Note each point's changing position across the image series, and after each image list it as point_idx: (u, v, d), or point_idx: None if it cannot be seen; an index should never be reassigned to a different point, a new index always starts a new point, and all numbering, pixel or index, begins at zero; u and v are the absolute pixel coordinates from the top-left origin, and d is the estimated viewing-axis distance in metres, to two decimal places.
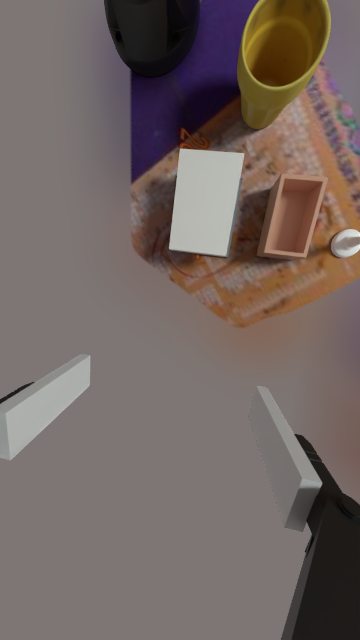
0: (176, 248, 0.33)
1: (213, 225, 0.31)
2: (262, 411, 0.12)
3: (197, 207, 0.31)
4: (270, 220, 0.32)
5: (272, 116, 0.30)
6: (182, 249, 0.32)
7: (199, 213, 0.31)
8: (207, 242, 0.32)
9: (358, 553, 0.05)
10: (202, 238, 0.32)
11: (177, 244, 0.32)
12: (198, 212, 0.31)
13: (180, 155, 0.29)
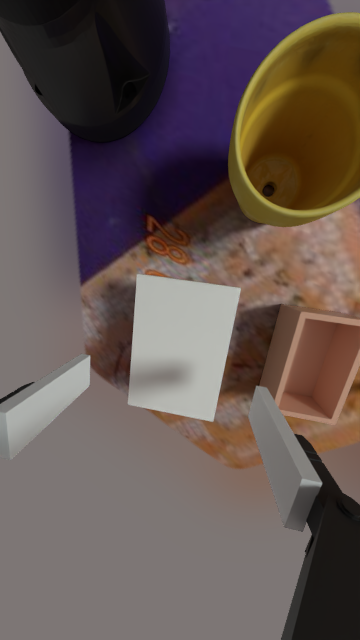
0: (138, 405, 0.22)
1: (193, 382, 0.20)
2: (262, 411, 0.12)
3: (168, 355, 0.20)
4: (281, 369, 0.21)
5: None
6: (147, 407, 0.22)
7: (171, 364, 0.20)
8: (184, 402, 0.21)
9: (358, 553, 0.05)
10: (176, 396, 0.21)
11: (140, 400, 0.21)
12: (170, 363, 0.20)
13: (138, 283, 0.18)
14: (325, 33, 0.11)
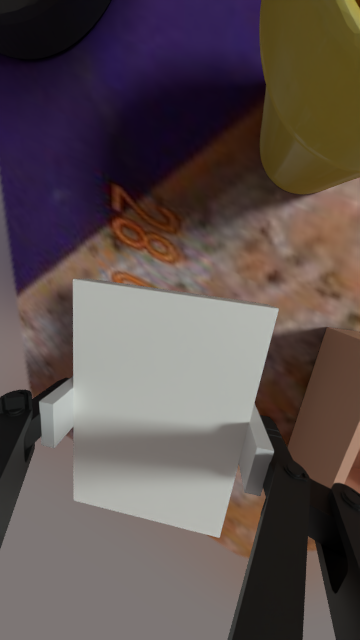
0: (91, 502, 0.13)
1: (184, 473, 0.11)
2: None
3: (138, 427, 0.11)
4: (339, 445, 0.12)
5: None
6: (106, 506, 0.13)
7: (144, 441, 0.11)
8: (169, 504, 0.12)
9: (298, 505, 0.06)
10: (155, 494, 0.12)
11: (93, 495, 0.12)
12: (141, 440, 0.11)
13: (76, 297, 0.10)
14: None
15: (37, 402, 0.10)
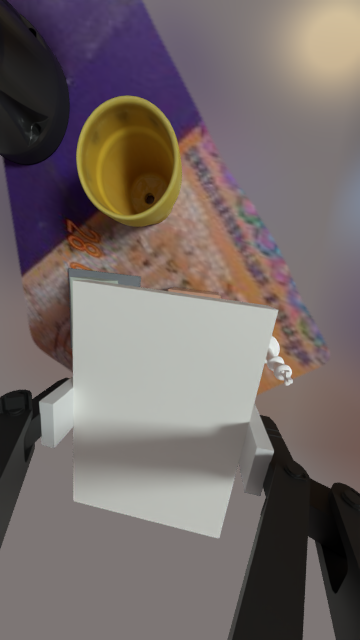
0: (91, 503, 0.13)
1: (183, 474, 0.11)
2: None
3: (138, 428, 0.11)
4: None
5: None
6: (106, 507, 0.13)
7: (143, 442, 0.11)
8: (169, 504, 0.12)
9: (298, 505, 0.06)
10: (155, 495, 0.12)
11: (93, 496, 0.12)
12: (141, 441, 0.11)
13: (76, 298, 0.10)
14: (120, 106, 0.17)
15: (37, 402, 0.10)
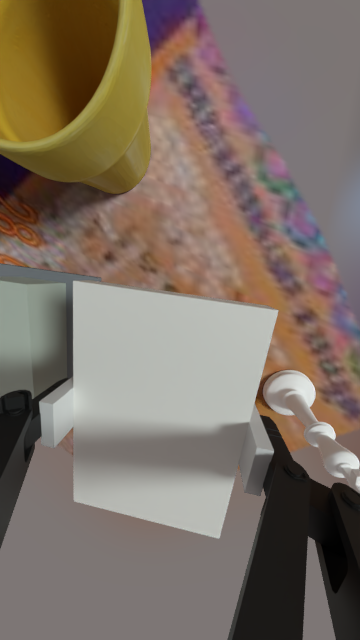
0: (91, 503, 0.13)
1: (183, 474, 0.11)
2: None
3: (138, 428, 0.11)
4: None
5: (113, 182, 0.14)
6: (106, 507, 0.13)
7: (143, 443, 0.11)
8: (169, 505, 0.12)
9: (298, 505, 0.06)
10: (155, 495, 0.12)
11: (93, 496, 0.12)
12: (141, 441, 0.11)
13: (76, 299, 0.10)
14: None
15: (37, 402, 0.10)
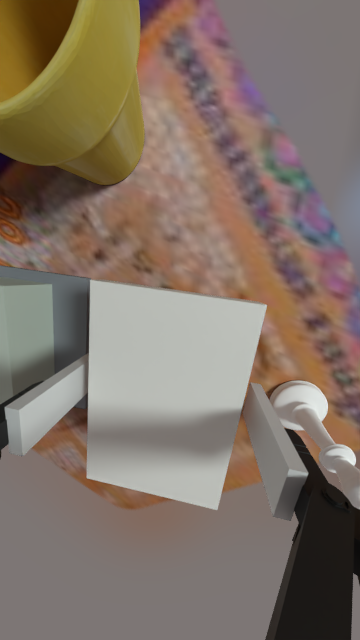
0: (103, 479, 0.14)
1: (185, 451, 0.13)
2: (255, 407, 0.12)
3: (145, 410, 0.12)
4: None
5: (100, 169, 0.12)
6: (116, 483, 0.14)
7: (150, 423, 0.12)
8: (172, 479, 0.13)
9: (340, 538, 0.06)
10: (160, 471, 0.13)
11: (104, 473, 0.14)
12: (148, 421, 0.12)
13: (93, 295, 0.11)
14: None
15: (5, 407, 0.10)
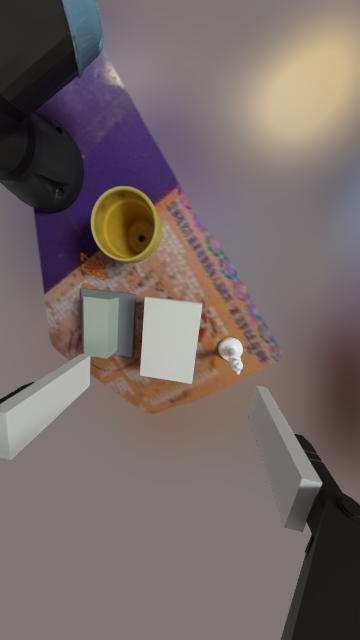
0: (146, 375, 0.35)
1: (178, 359, 0.34)
2: (262, 411, 0.12)
3: (163, 343, 0.34)
4: None
5: None
6: (152, 376, 0.35)
7: (165, 348, 0.34)
8: (174, 372, 0.35)
9: (358, 553, 0.05)
10: (169, 368, 0.35)
11: (147, 372, 0.35)
12: (164, 348, 0.34)
13: (145, 302, 0.33)
14: (119, 191, 0.27)
15: None
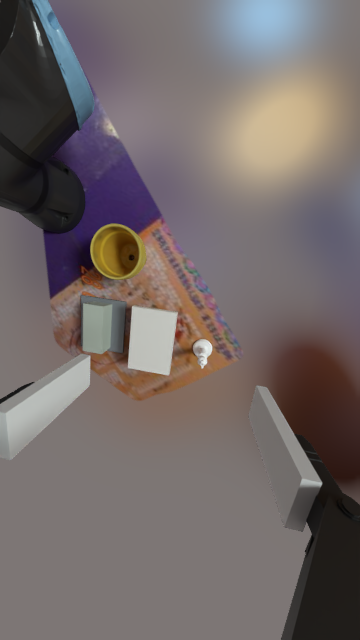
0: (133, 367, 0.44)
1: (158, 355, 0.43)
2: (262, 411, 0.12)
3: (146, 342, 0.42)
4: None
5: None
6: (137, 368, 0.44)
7: (148, 347, 0.43)
8: (155, 365, 0.43)
9: (358, 553, 0.05)
10: (151, 363, 0.43)
11: (133, 365, 0.44)
12: (147, 346, 0.43)
13: (132, 310, 0.41)
14: (112, 227, 0.35)
15: None
